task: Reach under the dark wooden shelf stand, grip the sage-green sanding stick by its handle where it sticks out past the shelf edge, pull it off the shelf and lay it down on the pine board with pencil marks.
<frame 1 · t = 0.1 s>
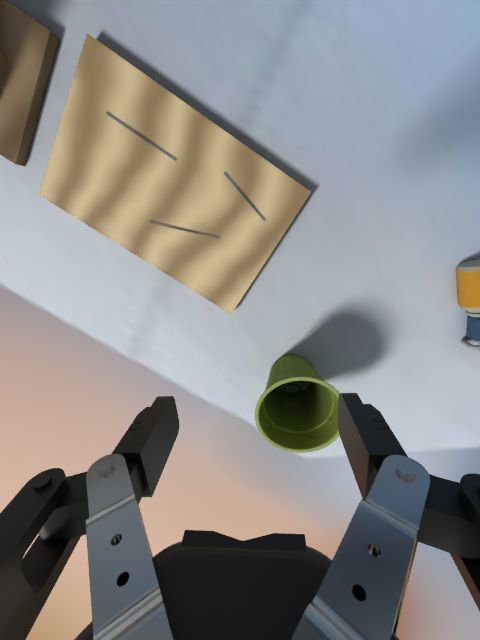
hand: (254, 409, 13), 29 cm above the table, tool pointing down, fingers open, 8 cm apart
plant pot: (291, 371, 45), on the table
pine board: (172, 194, 37), on the table
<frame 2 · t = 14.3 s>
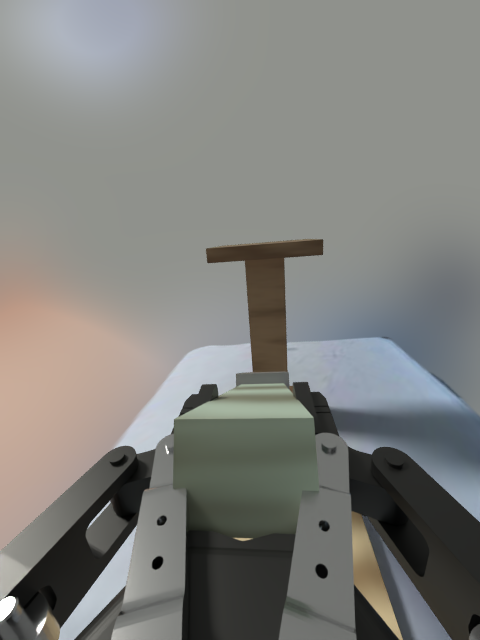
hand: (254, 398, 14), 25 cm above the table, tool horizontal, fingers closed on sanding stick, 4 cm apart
sanding stick: (262, 428, 20), point 19 cm above the table, tilted 28°, touching gripper
shelf stand: (272, 411, 52), on the table
pine board: (275, 580, 26), on the table
when the fingers open (15 cm above the table, at t = 17.2 s): sanding stick drops 7 cm, resting on pine board.
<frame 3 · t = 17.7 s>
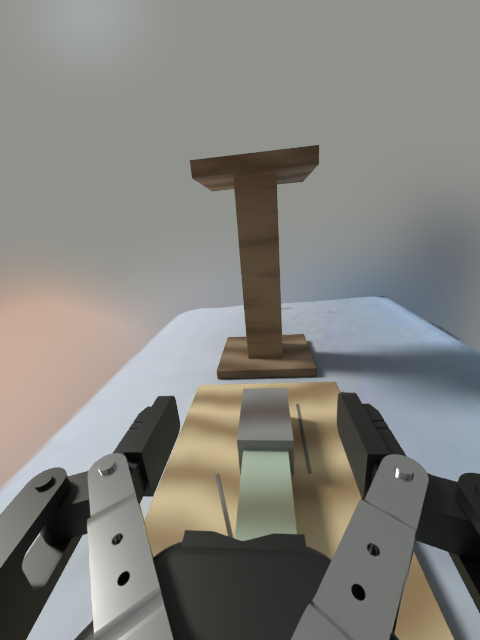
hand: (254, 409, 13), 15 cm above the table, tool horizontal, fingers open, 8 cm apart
sanding stick: (267, 532, 20), point 2 cm above the table, touching pine board
shelf stand: (265, 357, 50), on the table
pine board: (267, 494, 24), on the table
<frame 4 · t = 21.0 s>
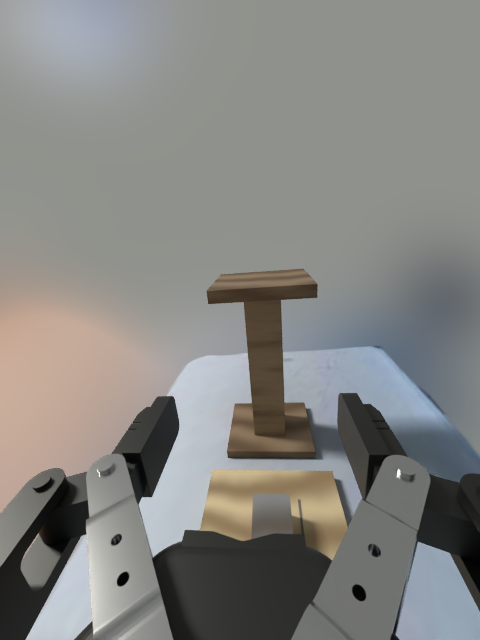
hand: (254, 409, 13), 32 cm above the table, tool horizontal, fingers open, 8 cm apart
shelf stand: (270, 430, 55), on the table
pine board: (275, 602, 30), on the table
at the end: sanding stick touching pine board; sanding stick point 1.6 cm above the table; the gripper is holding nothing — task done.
